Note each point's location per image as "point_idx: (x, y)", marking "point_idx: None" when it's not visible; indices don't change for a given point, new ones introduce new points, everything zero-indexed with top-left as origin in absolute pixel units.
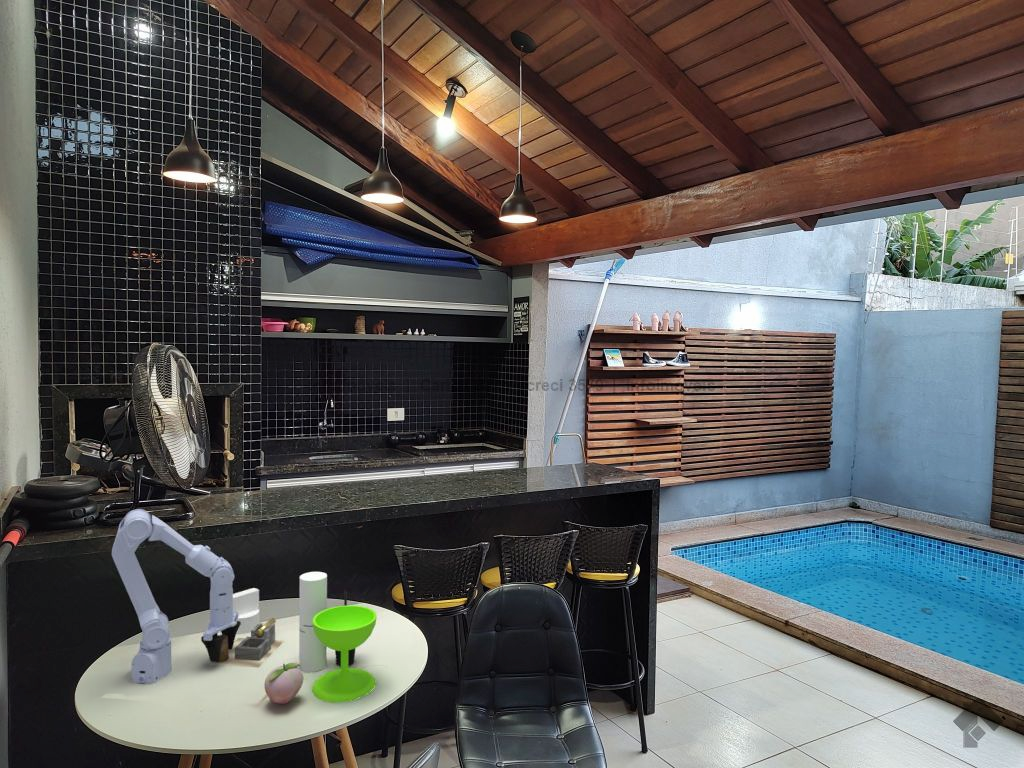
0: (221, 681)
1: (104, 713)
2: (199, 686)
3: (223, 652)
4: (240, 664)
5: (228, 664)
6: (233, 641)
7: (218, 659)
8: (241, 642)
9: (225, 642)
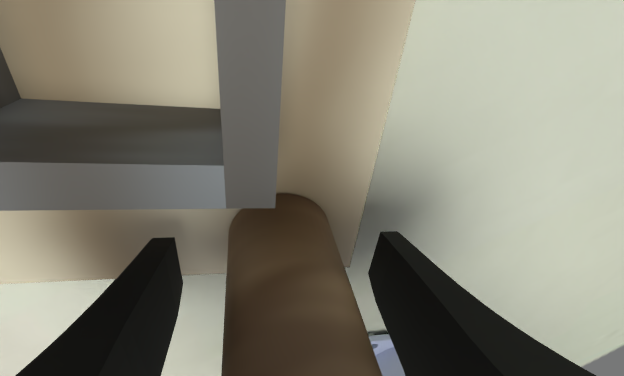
0: (530, 101)
1: (595, 346)
2: (542, 195)
3: (333, 258)
4: (374, 41)
5: (367, 150)
6: (129, 288)
7: (402, 239)
8: (101, 199)
9: (340, 343)
